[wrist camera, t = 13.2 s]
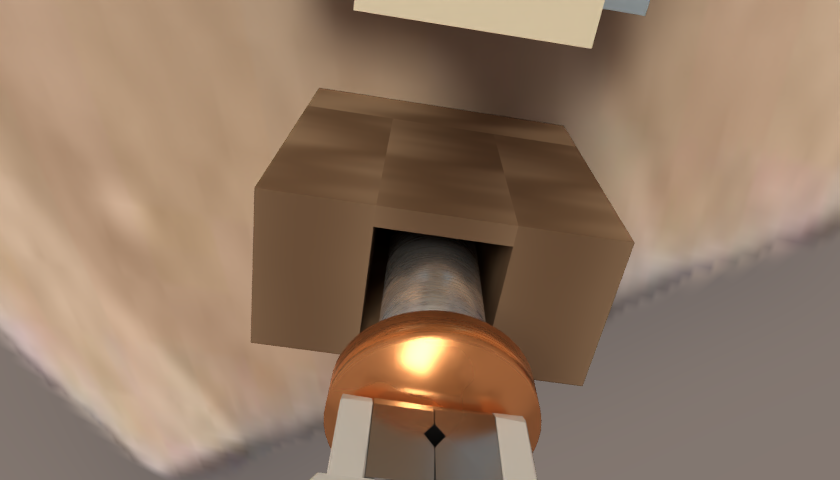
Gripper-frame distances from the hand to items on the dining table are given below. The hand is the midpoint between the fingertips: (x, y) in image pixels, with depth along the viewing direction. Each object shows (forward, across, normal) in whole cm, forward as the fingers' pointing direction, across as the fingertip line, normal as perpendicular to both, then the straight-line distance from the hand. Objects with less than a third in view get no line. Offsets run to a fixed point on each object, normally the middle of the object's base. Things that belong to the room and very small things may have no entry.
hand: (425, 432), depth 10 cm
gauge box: (+12, 0, 0) cm, 12 cm away
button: (+7, 0, 0) cm, 7 cm away
